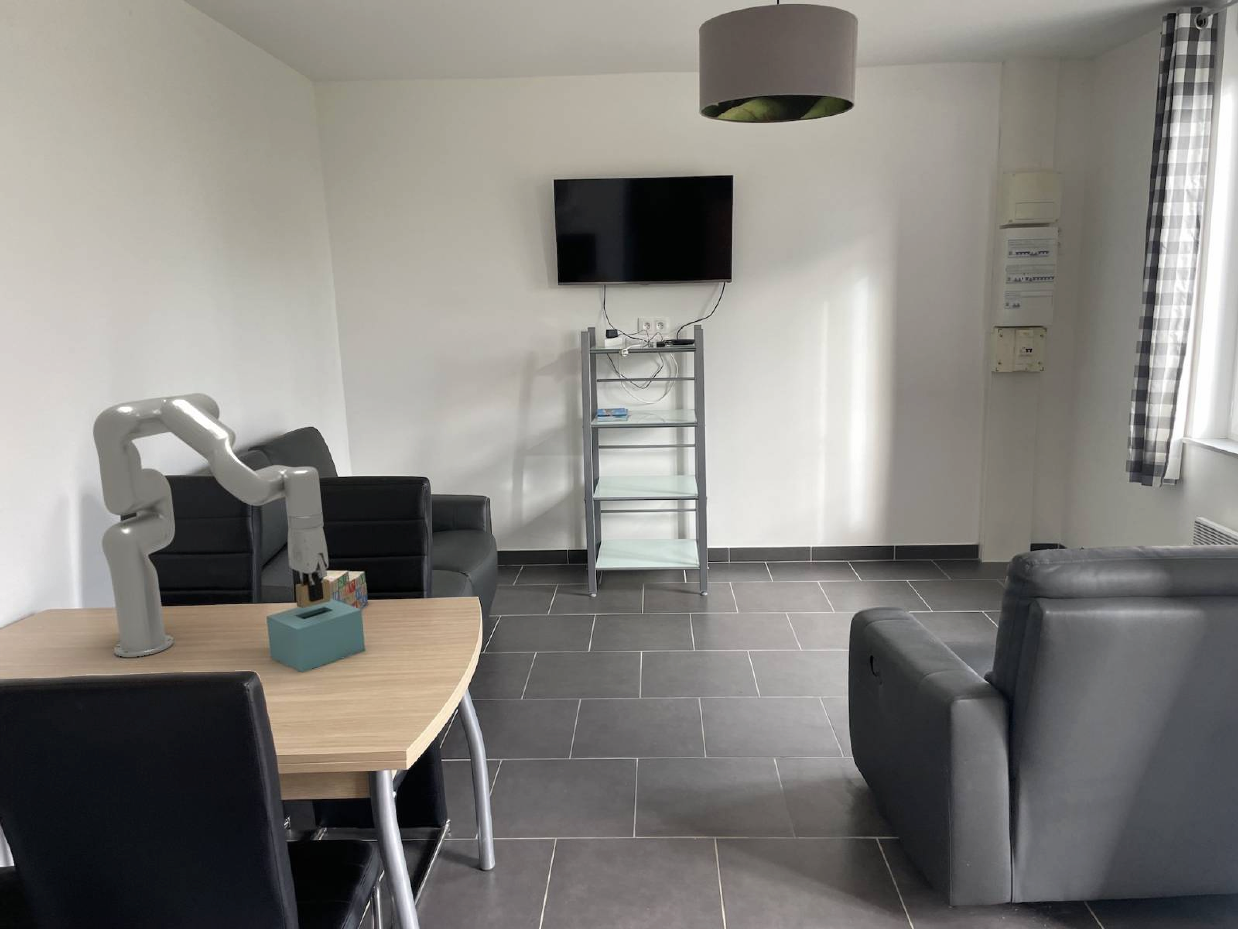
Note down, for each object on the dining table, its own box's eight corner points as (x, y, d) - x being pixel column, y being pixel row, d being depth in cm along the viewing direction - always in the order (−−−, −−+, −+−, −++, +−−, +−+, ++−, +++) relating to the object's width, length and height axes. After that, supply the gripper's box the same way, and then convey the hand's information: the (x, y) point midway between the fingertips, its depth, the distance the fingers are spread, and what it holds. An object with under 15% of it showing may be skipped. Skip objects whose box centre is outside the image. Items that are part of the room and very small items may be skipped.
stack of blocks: (347, 603, 243) (343, 560, 241) (368, 604, 242) (364, 560, 240) (307, 631, 222) (302, 584, 220) (330, 632, 221) (325, 585, 219)
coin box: (270, 657, 206) (266, 616, 204) (332, 637, 217) (329, 598, 216) (302, 672, 196) (297, 629, 195) (364, 650, 208) (361, 609, 207)
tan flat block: (324, 599, 208) (296, 606, 203) (323, 578, 207) (295, 584, 202) (330, 601, 207) (302, 608, 201) (329, 580, 206) (301, 586, 201)
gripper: (272, 520, 204) (280, 597, 207) (308, 529, 193) (317, 610, 197) (302, 513, 209) (310, 588, 213) (339, 522, 199) (347, 601, 202)
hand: (313, 598), depth 205 cm, fingers closed on tan flat block, 2 cm apart
